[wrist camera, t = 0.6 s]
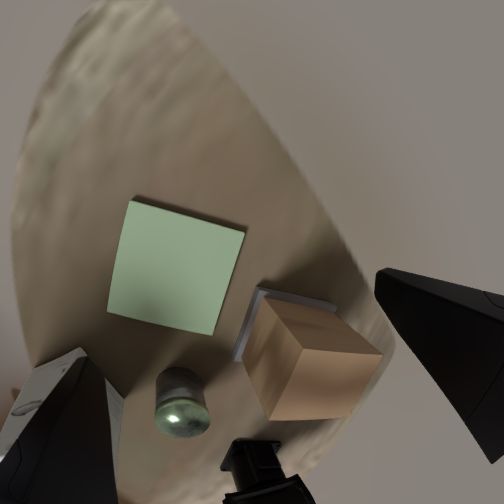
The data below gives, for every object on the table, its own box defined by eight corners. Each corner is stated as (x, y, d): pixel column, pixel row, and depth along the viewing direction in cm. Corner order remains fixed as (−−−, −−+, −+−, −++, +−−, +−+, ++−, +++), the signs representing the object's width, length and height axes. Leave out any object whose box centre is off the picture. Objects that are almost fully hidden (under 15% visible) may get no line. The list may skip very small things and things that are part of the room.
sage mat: (210, 332, 24) (212, 335, 24) (108, 308, 21) (106, 311, 21) (243, 231, 23) (245, 233, 22) (130, 200, 20) (129, 200, 19)
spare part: (196, 404, 26) (203, 440, 21) (151, 397, 24) (151, 434, 20) (207, 370, 25) (216, 406, 20) (158, 362, 24) (158, 398, 19)
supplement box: (80, 343, 21) (39, 451, 10) (126, 399, 24) (119, 507, 12) (31, 366, 20) (-14, 457, 9) (75, 416, 23) (56, 510, 11)
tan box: (305, 363, 28) (349, 420, 19) (231, 355, 25) (259, 425, 17) (332, 302, 27) (390, 349, 18) (256, 285, 24) (299, 340, 16)
